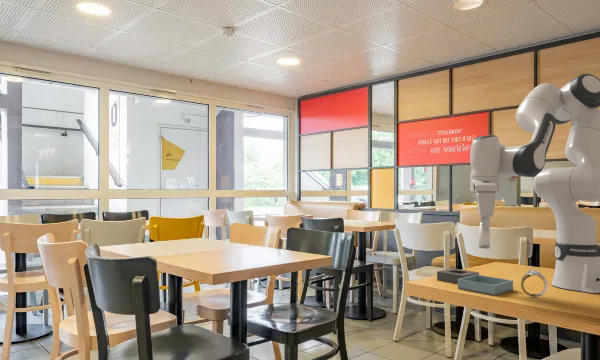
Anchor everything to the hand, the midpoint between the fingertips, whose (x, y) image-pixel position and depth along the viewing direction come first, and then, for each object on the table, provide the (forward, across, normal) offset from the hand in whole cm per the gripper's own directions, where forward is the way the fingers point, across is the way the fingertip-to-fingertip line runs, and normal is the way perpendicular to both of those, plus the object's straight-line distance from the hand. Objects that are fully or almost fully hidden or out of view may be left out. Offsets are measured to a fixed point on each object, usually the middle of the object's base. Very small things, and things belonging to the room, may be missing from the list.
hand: (485, 229), depth 142 cm
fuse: (+6, 0, 0) cm, 6 cm away
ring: (+19, +6, +13) cm, 24 cm away
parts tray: (+19, 0, 0) cm, 19 cm away
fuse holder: (+19, -11, -8) cm, 23 cm away
